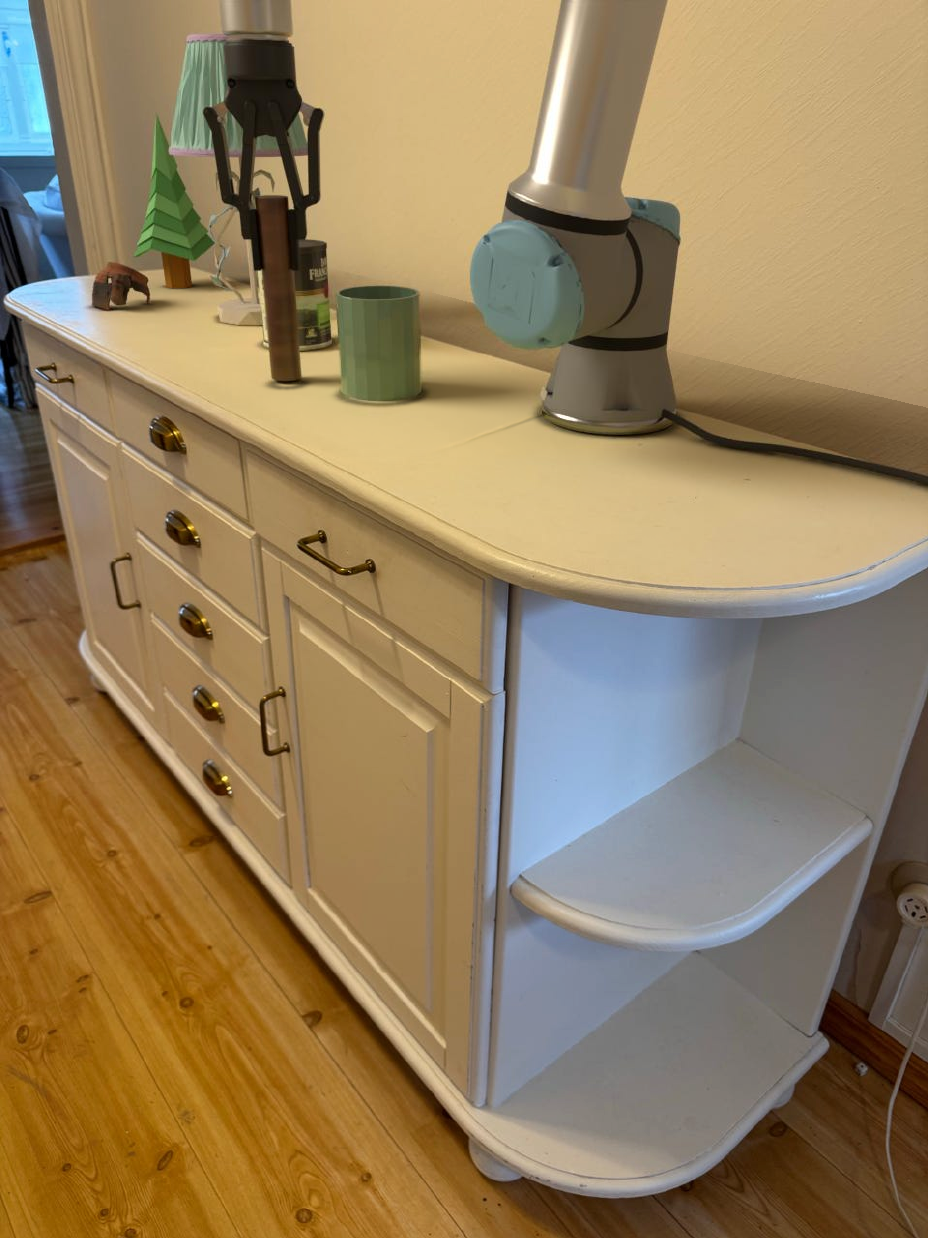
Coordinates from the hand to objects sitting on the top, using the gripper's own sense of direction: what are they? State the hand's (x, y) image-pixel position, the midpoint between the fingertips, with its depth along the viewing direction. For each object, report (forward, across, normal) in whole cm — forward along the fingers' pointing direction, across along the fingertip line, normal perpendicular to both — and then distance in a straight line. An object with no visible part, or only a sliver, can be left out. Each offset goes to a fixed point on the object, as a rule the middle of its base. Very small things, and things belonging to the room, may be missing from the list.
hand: (277, 268), depth 111 cm
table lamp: (+14, +9, -43) cm, 46 cm away
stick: (+13, 0, 0) cm, 13 cm away
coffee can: (+14, +1, -23) cm, 27 cm away
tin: (+14, -12, +5) cm, 19 cm away
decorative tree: (+14, +28, -75) cm, 81 cm away
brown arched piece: (+14, +34, -54) cm, 65 cm away
